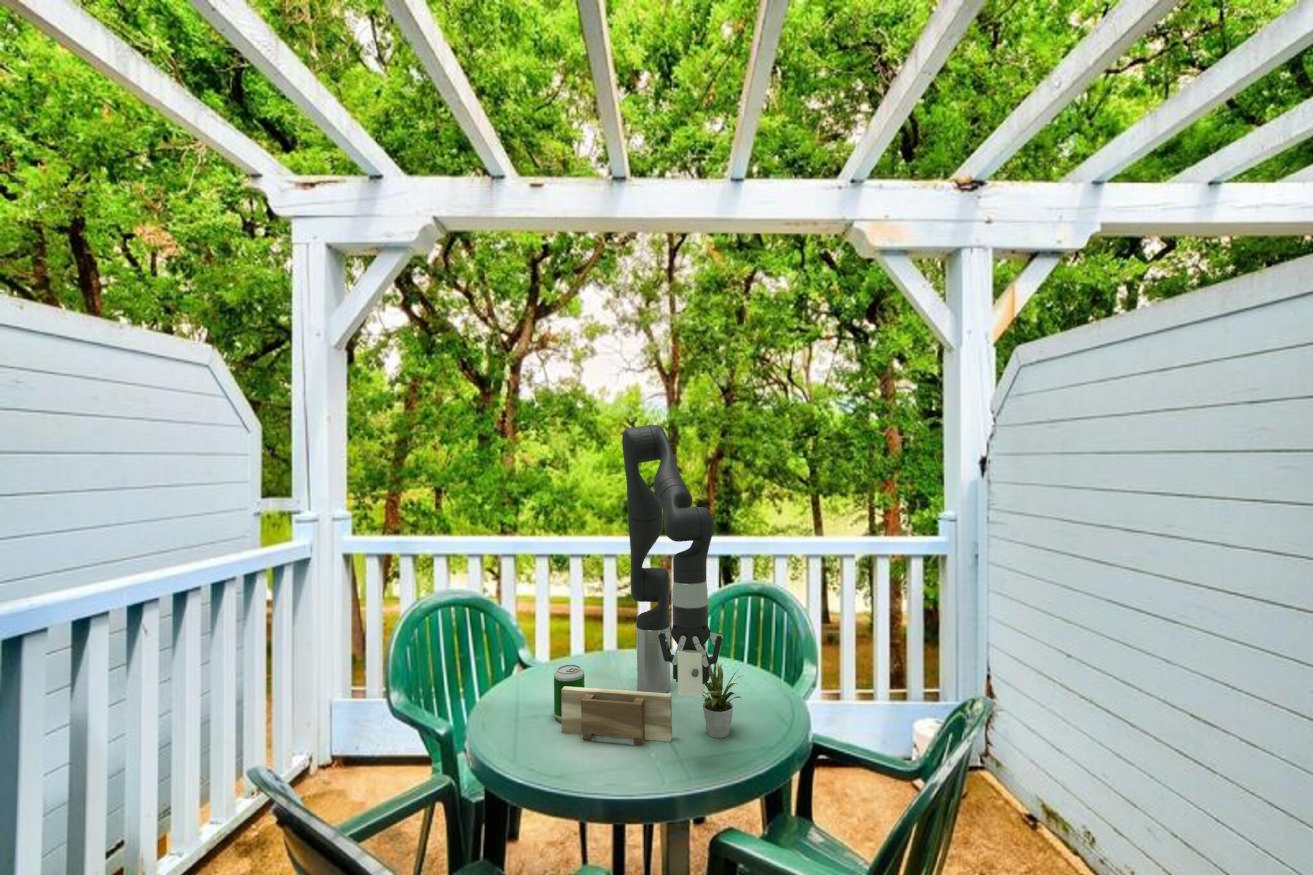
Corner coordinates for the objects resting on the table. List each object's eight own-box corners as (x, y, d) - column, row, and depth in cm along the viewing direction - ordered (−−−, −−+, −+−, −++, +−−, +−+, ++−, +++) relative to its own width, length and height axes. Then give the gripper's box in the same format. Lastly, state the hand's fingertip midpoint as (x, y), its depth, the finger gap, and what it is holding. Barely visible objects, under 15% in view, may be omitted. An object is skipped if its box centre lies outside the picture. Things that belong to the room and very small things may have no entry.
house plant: (674, 723, 144) (673, 655, 144) (724, 713, 149) (723, 647, 150) (701, 750, 131) (700, 675, 131) (755, 737, 136) (754, 665, 136)
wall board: (564, 728, 142) (564, 686, 142) (672, 737, 137) (671, 693, 137) (556, 739, 137) (556, 695, 137) (667, 749, 132) (667, 703, 132)
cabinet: (684, 679, 133) (683, 638, 133) (706, 680, 132) (705, 639, 132) (677, 696, 124) (676, 653, 124) (701, 698, 123) (700, 654, 123)
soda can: (579, 725, 144) (578, 675, 144) (549, 722, 145) (549, 673, 146) (588, 711, 151) (588, 664, 151) (560, 709, 153) (560, 662, 153)
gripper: (725, 598, 129) (726, 677, 129) (660, 595, 132) (661, 673, 132) (722, 607, 121) (723, 691, 121) (653, 605, 124) (654, 686, 124)
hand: (691, 681), depth 126 cm, fingers closed on cabinet, 5 cm apart
